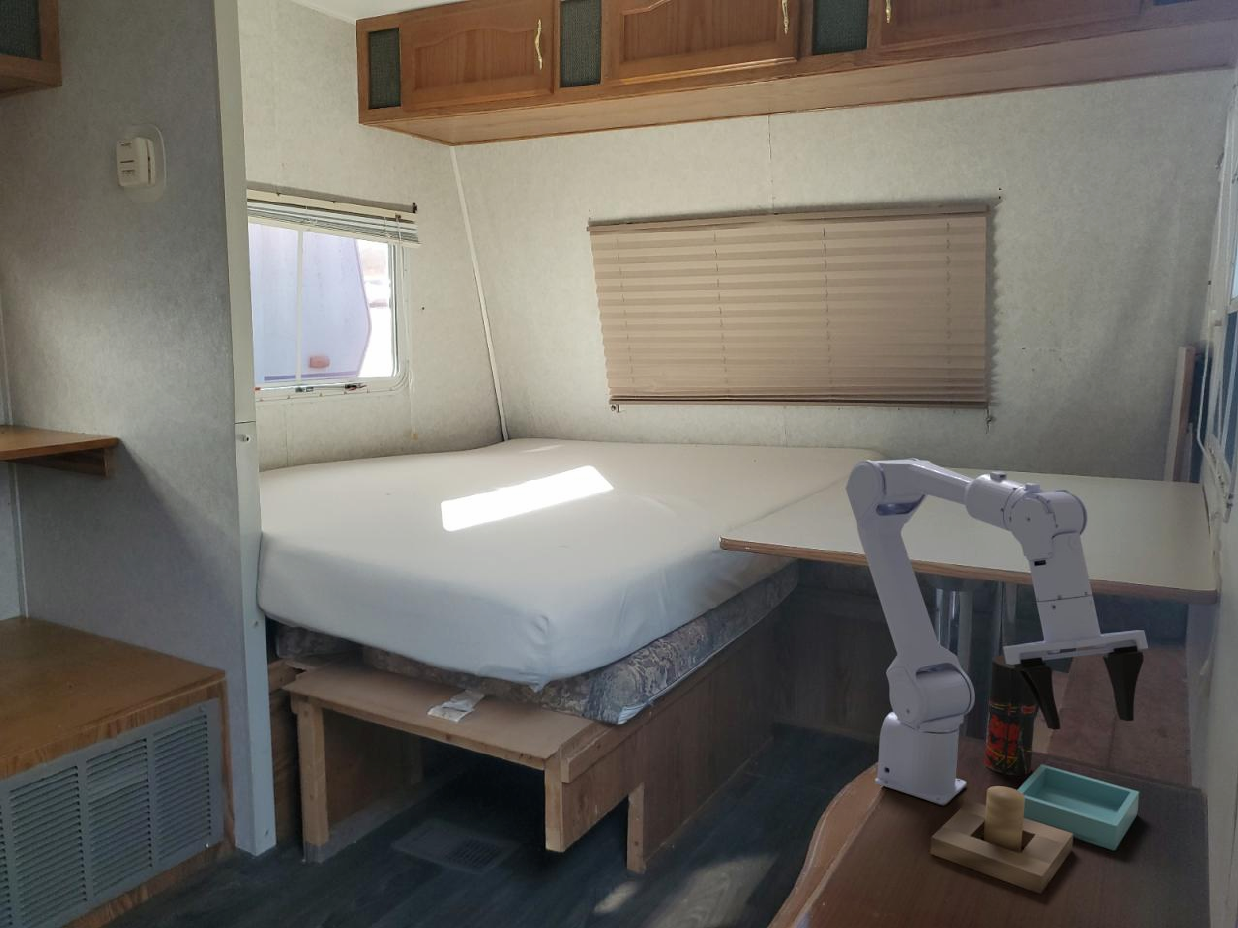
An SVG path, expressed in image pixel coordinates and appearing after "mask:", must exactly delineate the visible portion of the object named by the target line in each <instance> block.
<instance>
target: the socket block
mask: <svg viewBox="0 0 1238 928" xmlns="http://www.w3.org/2000/svg"><path fill="white" fill-rule="evenodd" d="M985 814H986V804H982V803H979V802H976V801H974V800H968V801H966V803H964V805H962V807H961V808H959V810H958V811H956V812H955V814H953V816H951V817H950V819H948V820H947V821H946V822H945V823H944V824H943V825H942V826H941V827H940V828H939V829H938V830H937V831H936V832H935V833H933V835H932V836H931V837H930V850H929V851H930V852H929V854H930V855H933V856H936V857H939V858H941V859H944V860H947V861H948V862H949V861H950V862H952V863H955V864H957V865H960V866H963V867H966V868H969V869H971V870H974V871H977V872H978V873H979V872H980V873H982V874H984V875H987V876H991V877H993V878H996V879H999V880H1001V881H1004V882H1005V883H1006V882H1007V883H1010V884H1012V885H1014V886H1017V887H1020V888H1022V889H1025V890H1028V891H1030V892H1034V893H1037V894H1040V895H1041V894H1042V893H1043V892H1044V890H1045V889H1046V887H1047V886H1048V884H1049V883H1050V881H1051V880H1052V878H1053V877H1054V876H1055V875H1056V873H1057V872H1058V871H1059V869H1060V867H1061V866H1062V864H1063V863H1064V862H1065V861H1066V859H1067V858H1068V856H1069V855H1070V853H1071V852H1072V851H1073V841H1074V837H1073V833H1070V832H1067V831H1064V830H1061V829H1057V828H1054V827H1051V826H1048V825H1045V824H1042V823H1039V822H1036V821H1033V820H1029V819H1026V818H1023V830H1022V842H1021V848H1024V849H1022V851H1021V853H1017V852H1014V851H1011V850H1008V849H1005V848H1002V847H1000V846H997V845H994V844H991V843H988V842H985V841H984V840H982V838H984V827H985Z"/></svg>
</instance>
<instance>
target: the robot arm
mask: <svg viewBox="0 0 1238 928" xmlns="http://www.w3.org/2000/svg"><path fill="white" fill-rule="evenodd" d="M845 491H846V493H847V497H848V499H849V503H850V506H851V508H852V509H851V510H852V511H853V512H852V513H853V515H854V518H855V522H856V530H857V534H858V537H859V540H860V543H861V546H862V549H863V552H864V556H865V559H866V562H867V565H868V568H869V571H870V573H871V576H872V580H873V583H874V588H876V593H877V595H878V599H879V602H880V605H881V608H882V611H883V613H884V614H883V615H884V617H885V620H886V623H887V627H888V629H889V632H890V636H891V638H892V641H893V644H894V648H895V651H896V656H895V658H894V659H893V661H892V662H891V664H890V665H889V667H888V668H887V670H886V672H885V674H886V675H885V676H886V677H887V680H888V686H889V702H890V706H891V709H892V711H891V712H889V713H888V714H887V715H886V717H885V718H884V720H883V723H882V724H881V725H882V726H881V728H880V734H879V744H878V745H879V748H878V763H877V764H878V766H877V777H876V778H875V780H874V783H875V784H877V785H880V786H883V787H887V788H889V789H892V790H896V791H898V792H901V793H905V794H907V795H910V796H913V797H916V798H919V799H921V800H922V799H923V800H926V801H928V802H932V803H935V804H937V805H941V806H945V805H947V804H948V803H949V802H950V801H951V800H952V799H953V798H954V797H955V796H956V795H958V794H959V793H960V792H961V791H962V790H963V789H964V788H965V787H966V786H967V781H966V780H963V779H961V778H957V766H958V765H957V764H958V753H959V752H958V751H959V750H958V749H959V735H960V734H959V733H960V725H961V724H963V723H964V716H965V715H966V714H968V713H970V712H971V711H972V709H973V707H974V705H975V699H976V698H975V697H976V695H975V689H974V686H973V683H972V681H971V679H970V677H969V675H967V674H966V672H965V671H964V670H963V668H962V667H961V666H962V665H961V664H960V662H959V659H958V656H957V655H956V654H955V653H953V652H951V651H950V650H949V649H947V648H945V647H944V646H942V645H941V644H940V643H939V642H938V638H937V635H936V633H935V630H934V627H933V623H932V621H931V618H930V615H929V612H928V609H927V607H926V603H925V601H924V597H923V595H922V592H921V588H920V585H919V584H918V583H919V582H918V580H917V578H916V577H917V576H916V575H915V572H914V569H913V566H912V563H911V559H910V557H909V554H908V550H907V548H906V545H905V542H904V539H903V537H902V534H901V533H902V530H903V528H904V526H905V524H907V523H908V522H910V520H911V519H912V517H913V516H914V515H915V513H916V512H917V511H918V509H919V508H920V506H921V505H922V504H923V502H925V500H926V498H927V497H928V496H932V497H936V498H939V499H943V500H945V501H946V500H947V501H949V502H952V503H953V502H954V503H958V504H960V505H963V506H965V509H966V511H967V514H968V515H969V516H970V517H971V518H972V519H974V520H977V521H980V522H983V523H986V524H988V525H991V526H994V527H996V528H1000V529H1003V530H1005V531H1008V532H1010V533H1011V535H1012V536H1013V537H1014V538H1015V540H1016V541H1018V542H1019V544H1020V546H1021V549H1022V552H1023V553H1022V554H1023V556H1024V557H1026V560H1028V565H1029V570H1030V575H1031V579H1032V585H1033V590H1034V595H1035V599H1036V606H1037V610H1038V615H1039V620H1040V625H1041V631H1042V636H1043V640H1040V641H1035V642H1034V641H1033V642H1028V643H1027V642H1025V643H1021V644H1012V645H1005V646H1003V647H1002V649H1003V653H1004V654H1003V655H1005V660H1006V664H1010V665H1014V667H1015V670H1016V671H1017V673H1018V674H1019V675H1020V677H1021V678H1022V679H1023V681H1024V682H1025V684H1026V685H1027V686H1028V688H1029V690H1030V691H1031V693H1032V694H1033V696H1034V698H1035V700H1036V704H1037V706H1038V707H1039V709H1040V711H1041V713H1042V716H1043V718H1044V720H1045V723H1046V726H1047V728H1048V729H1051V730H1061V723H1060V718H1059V713H1058V710H1057V709H1058V708H1057V705H1056V701H1055V694H1054V687H1053V676H1052V667H1051V666H1050V665H1046V662H1045V661H1048V660H1056V659H1064V658H1073V657H1079V656H1080V657H1081V656H1089V655H1097V654H1103V655H1102V660H1103V662H1104V665H1105V668H1106V670H1107V673H1108V677H1109V679H1110V683H1111V686H1112V690H1113V696H1114V697H1113V698H1114V701H1115V707H1116V711H1117V714H1118V719H1119V720H1121V721H1124V722H1133V721H1135V719H1134V718H1135V717H1134V711H1135V710H1134V708H1135V707H1134V705H1135V696H1136V695H1135V694H1136V688H1137V683H1138V679H1139V675H1140V672H1141V669H1142V666H1143V664H1144V654H1143V651H1141V650H1145V649H1149V646H1148V645H1149V644H1148V640H1147V636H1146V632H1145V630H1138V629H1135V630H1128V631H1120V632H1109V633H1108V632H1107V633H1101V629H1100V625H1099V620H1098V616H1097V610H1096V606H1095V601H1094V596H1093V592H1092V587H1091V582H1090V576H1089V573H1088V572H1089V571H1088V566H1087V563H1086V558H1085V552H1084V549H1083V545H1082V540H1081V539H1082V538H1081V536H1082V535H1083V533H1084V532H1085V530H1086V528H1087V525H1088V524H1087V523H1088V512H1087V508H1086V505H1085V504H1084V502H1083V501H1082V499H1081V498H1080V497H1079V496H1077V495H1075V494H1074V493H1072V492H1070V491H1069V490H1067V489H1056V490H1052V491H1050V492H1049V491H1048V492H1045V491H1044V490H1043V489H1041V485H1040V484H1039V483H1035V482H1027V483H1026V484H1025V483H1021V482H1017V481H1014V480H1011V479H1008V474H1007V473H1006V472H1002V471H991V472H990V473H985V474H981V475H979V476H978V477H976V478H972V477H970V476H966V475H964V474H962V473H959V472H955V471H953V470H950V469H948V468H946V467H942V466H940V465H937V464H934V463H932V462H931V461H929V460H923V459H922V460H920V459H918V458H916V457H915V458H913V457H911V458H907V459H896V460H895V459H892V460H891V459H889V460H868V459H866V460H861V461H858V462H856V464H854V466H853V468H852V469H851V472H850V474H849V477H848V480H847V483H846V486H845ZM1085 647H1087V648H1091V649H1084V650H1077V651H1076V650H1075V651H1067V652H1061V650H1068V649H1069V650H1070V649H1078V648H1085ZM1092 648H1093V649H1092ZM1139 650H1140V651H1139ZM1060 652H1061V653H1060ZM1106 653H1107V654H1106ZM1043 661H1044V662H1043ZM923 671H925V672H923ZM926 671H927V672H926ZM918 672H921V673H918Z"/></svg>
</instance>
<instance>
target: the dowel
mask: <svg viewBox="0 0 1238 928" xmlns="http://www.w3.org/2000/svg"><path fill="white" fill-rule="evenodd" d="M1017 790H1018V789H1015V788H1013V787H1008V786H1001V785H996V786H995V785H993V786H990V787H989V788H987V790H986V800H985V801H986V802H985V805H986V814H985V827H984V836H983V841H985V842H988V843H991V844H994V845H997V846H1000V847H1002V848H1005V849H1008V850H1011V851H1014V852H1017V853H1021V852H1022V851H1021V850H1022V846H1021V842H1022V830H1023V817H1024V804H1025V796H1024V795H1023V794H1022V793H1021V792H1019V791H1017Z"/></svg>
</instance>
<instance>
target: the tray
mask: <svg viewBox="0 0 1238 928" xmlns="http://www.w3.org/2000/svg"><path fill="white" fill-rule="evenodd" d="M1016 790H1017V791H1019V792H1021V793H1022V794H1023V795H1024V796H1025V804H1024V817H1023V818H1026V819H1029V820H1033V821H1036V822H1039V823H1042V824H1045V825H1048V826H1051V827H1054V828H1057V829H1061V830H1064V831H1067V832H1070V833H1073V839H1074V838H1075V839H1077V840H1081V841H1084V842H1087V843H1090V844H1093V845H1096V846H1099V847H1103V848H1106V849H1109V850H1111V851H1114V852H1115V851H1116V850H1117V848H1118V847H1119V845H1120V844H1121V841H1122V840H1123V838H1124V837H1125V835H1126V833H1127V832H1128V830H1129V829H1130V827H1131V825H1132V824H1133V822H1134V820H1135V819H1136V817H1137V815H1138V812H1139V811H1138V809H1139V798H1140V797H1139V796H1140V791H1139V790H1135V789H1130V788H1127V787H1124V786H1120V785H1116V784H1113V783H1111V782H1106V781H1102V780H1099V779H1095V778H1091V777H1088V776H1085V775H1082V774H1078V773H1075V772H1070V771H1068V770H1063V769H1060V768H1056V767H1053V766H1049V765H1046V764H1043V763H1041V764H1040V765H1039V766H1038V767H1037V769H1035V771H1034V772H1032V774H1031V775H1030V776H1029V777H1028V778H1026V780H1025V781H1024V782H1023V783H1022V785H1021V786H1020V787H1019V788H1018V789H1016Z"/></svg>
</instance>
